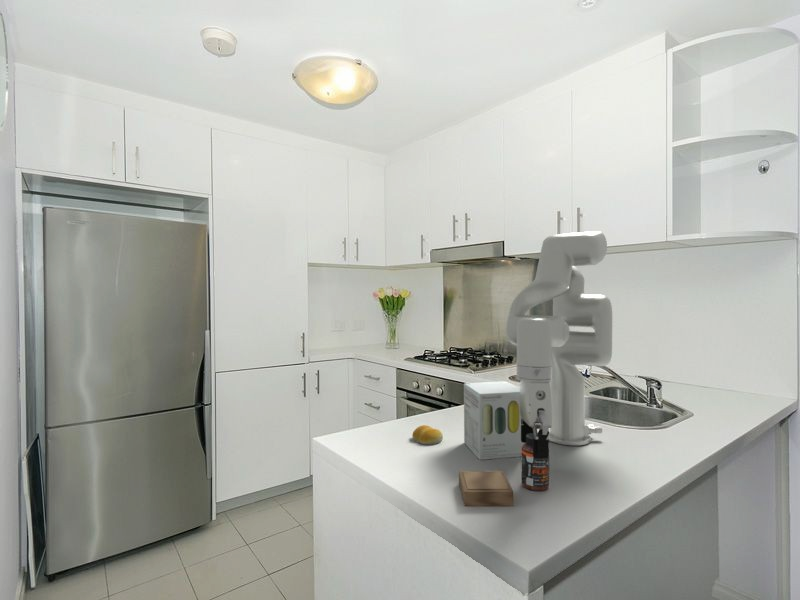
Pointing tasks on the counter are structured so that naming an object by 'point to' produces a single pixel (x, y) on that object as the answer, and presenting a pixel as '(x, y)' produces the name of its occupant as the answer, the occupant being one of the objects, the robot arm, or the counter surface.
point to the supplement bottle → (534, 467)
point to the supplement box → (492, 419)
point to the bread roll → (427, 435)
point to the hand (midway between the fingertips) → (534, 449)
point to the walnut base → (485, 488)
